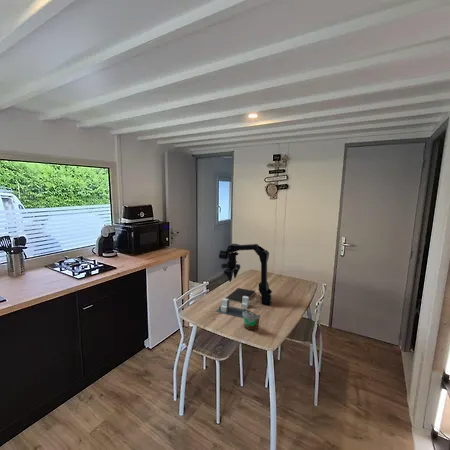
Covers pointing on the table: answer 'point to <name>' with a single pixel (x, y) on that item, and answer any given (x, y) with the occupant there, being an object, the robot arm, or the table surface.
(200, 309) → the table surface
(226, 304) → the block
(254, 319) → the food container
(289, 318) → the table surface
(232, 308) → the rail
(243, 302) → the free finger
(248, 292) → the hardcover book
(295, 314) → the table surface
